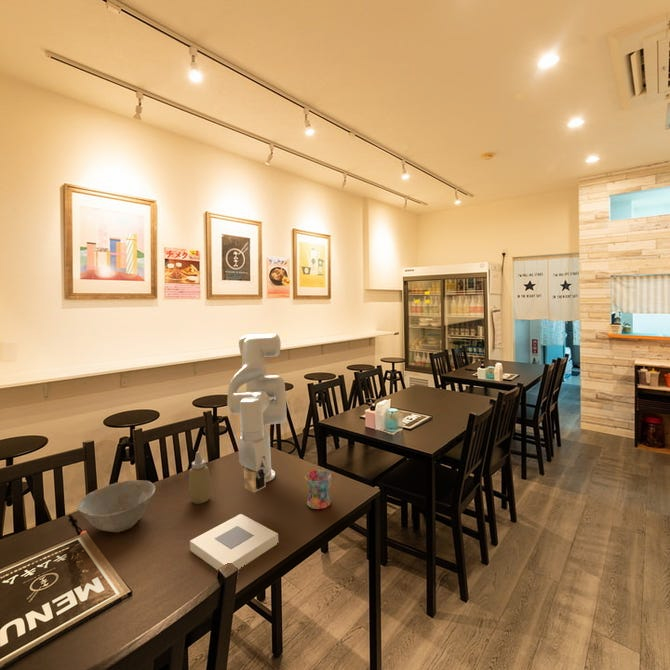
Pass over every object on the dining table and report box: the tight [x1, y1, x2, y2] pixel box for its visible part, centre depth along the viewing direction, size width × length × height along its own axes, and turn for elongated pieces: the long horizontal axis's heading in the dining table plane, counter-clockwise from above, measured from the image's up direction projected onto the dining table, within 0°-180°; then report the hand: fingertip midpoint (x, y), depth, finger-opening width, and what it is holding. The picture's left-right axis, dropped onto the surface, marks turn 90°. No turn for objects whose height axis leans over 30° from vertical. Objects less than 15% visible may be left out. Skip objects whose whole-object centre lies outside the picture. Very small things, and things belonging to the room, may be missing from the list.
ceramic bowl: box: [77, 479, 156, 533], centre depth 128 cm, size 22×23×10 cm
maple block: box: [243, 468, 266, 494], centre depth 133 cm, size 5×5×7 cm
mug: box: [304, 469, 335, 510], centre depth 138 cm, size 12×9×11 cm
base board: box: [189, 513, 279, 571], centre depth 115 cm, size 18×18×3 cm
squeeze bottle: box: [188, 451, 213, 505], centre depth 142 cm, size 8×8×18 cm
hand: (255, 484), depth 134 cm, fingers closed on maple block, 5 cm apart
